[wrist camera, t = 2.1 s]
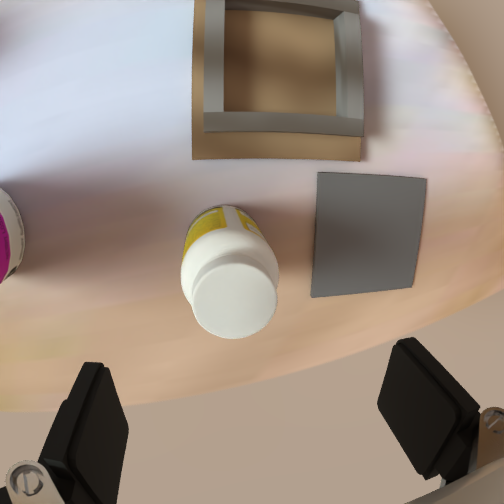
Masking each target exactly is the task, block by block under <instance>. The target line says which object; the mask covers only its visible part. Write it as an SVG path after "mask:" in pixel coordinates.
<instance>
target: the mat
mask: <svg viewBox="0 0 504 504" xmlns="http://www.w3.org/2000/svg"><path fill="white" fill-rule="evenodd" d="M425 190H426V179H424V178H413V177H401V176H387V175H371V174H352V173H326V172H318V174H317V202H316V223H315V241H314V257H313V272H312V285H311V297H312V298H316V297H327V296H338V295H348V294H358V293H367V292H377V291H386V290H394V289H403V288H411V287H412V283H413V278H414V272H415V267H416V261H417V255H418V249H419V242H420V235H421V227H422V219H423V210H424V201H425Z"/></svg>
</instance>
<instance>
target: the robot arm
mask: <svg viewBox="0 0 504 504" xmlns="http://www.w3.org/2000/svg"><path fill="white" fill-rule="evenodd" d="M377 405H378V409H379V411H380V412H381V414H382V416H383V417H384V419H385V420H386V422H387V424H388V425H389V427H390V429H391V430H392V432H393V434H394V435H395V437H396V438H397V440H398V442H399V443H400V445H401V447H402V448H403V450H404V452H405V453H406V455H407V456H408V458H409V460H410V462H411V463H412V465H413V467H414V468H415V470H416V471H417V473H418V474H420V475H423V477H424V479H425V480H428V479H430V478H433V477H435V476H437V475H438V474H440V475H441V477H442V480H441V485H440V488H439V489H437V490H435V491H433V492H431V493H429V494H426V495H424V496H422V497H419V498H417V499H415V500H412V501H410V502H407V503H405V504H504V409H502V408H499V407H490V408H487V409H485V410H484V411H483V412H482V413H481V414H480V413H479V412H478V410H479V408H480V405H479V404H478V403H477V402H476V401H475V400H474V399H473V398H472V397H471V396H470V395H469V393H468V392H467V391H466V390H465V389H464V388H463V387H462V386H461V385H460V384H459V383H458V382H457V381H456V380H455V379H454V377H453V376H452V375H451V374H450V373H449V372H448V371H447V370H446V369H445V368H444V367H443V366H442V365H441V364H440V363H439V362H438V361H437V360H436V359H435V358H434V357H433V356H432V355H431V354H430V352H429V351H428V350H427V349H426V348H425V347H424V346H423V345H422V344H421V343H420V342H419V341H418V340H417V339H416V338H414V337H411V338H405V339H400V340H398V341H397V343H396V345H394V346H393V348H392V352H391V356H390V359H389V363H388V367H387V371H386V374H385V377H384V381H383V384H382V388H381V391H380V394H379V397H378V401H377ZM128 430H129V428H128V423H127V420H126V418H125V415H124V412H123V409H122V406H121V404H120V401H119V398H118V395H117V392H116V389H115V386H114V382H113V379H112V376H111V373H110V370H109V368H108V367H104V365H103V363H98V362H85V363H84V364H83V366H82V368H81V370H80V372H79V374H78V377H77V379H76V381H75V383H74V385H73V387H72V390H71V392H70V394H69V396H68V398H67V400H64V401H63V402H62V404H61V406H60V408H59V411H58V413H57V415H56V417H55V420H54V422H53V424H52V427H51V429H50V432H49V434H48V436H47V439H46V441H45V444H44V446H43V449H42V452H41V454H40V457H39V459H38V462H35V461H29V460H25V461H21V462H18V463H16V464H14V465H13V466H12V467H11V468H10V469H9V470H8V472H7V474H6V479H5V482H6V486H5V487H3V488H0V504H116V503H117V495H118V490H119V483H120V477H121V471H122V466H123V460H124V454H125V449H126V443H127V438H128V433H129V432H128Z"/></svg>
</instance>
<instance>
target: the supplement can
mask: <svg viewBox="0 0 504 504" xmlns="http://www.w3.org/2000/svg"><path fill="white" fill-rule="evenodd" d="M24 248H25V236H24V226H23V223H22V219H21V216H20V213H19V210H18V208H17V207H16V205H15V203H14V202H13V200H12V199H11V197H10V196H9V195H8V194H7V193H6V192H5V191H3V190H2V189H1V188H0V284H1V283H2V282H3V281H4V280H5V279H7V278H8V277H9V276H10V275H11V274H13V273H14V272H15V271H16V269H17V268H18V266H19V264H20V263H21V261H22V258H23V253H24Z"/></svg>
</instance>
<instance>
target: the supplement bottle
mask: <svg viewBox="0 0 504 504" xmlns="http://www.w3.org/2000/svg"><path fill="white" fill-rule="evenodd" d="M278 281H279V268H278V263H277V260H276V257H275V255H274V252H273V250H272V249H271V247H270V246H269V244H268V243H267V241H266V239H265V238H264V236H263V234H262V233H261V231H260V229H259V228H258V226H257V224H256V223H255V222H254V220H253V219H252V218H251V217H250V216H249V215H248V214H247V213H246V212H244V211H243V210H241V209H239V208H236V207H233V206H228V205H221V206H214V207H211V208H209V209H206V210H204V211H203V212H201V213H200V214H199V215H198V216H197V217H196V218H195V219H194V220H193V222H192V223H191V225H190V227H189V229H188V232H187V236H186V241H185V247H184V252H183V258H182V266H181V285H182V289H183V292H184V294H185V296H186V298H187V300H188V302H189V303H190V304H191V305H192V309H193V313H194V315H195V317H196V319H197V321H198V322H199V324H200V325H201V326H202V327H203V328H204V329H205V330H207V331H208V332H210V333H211V334H214V335H216V336H219V337H222V338H228V339H238V338H244V337H247V336H250V335H253V334H255V333H257V332H258V331H260V330H261V329H263V328H264V327H265V326H266V325H267V324H268V323H269V321H270V320H271V318H272V317H273V315H274V313H275V310H276V307H277V291H276V289H277V286H278Z"/></svg>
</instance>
